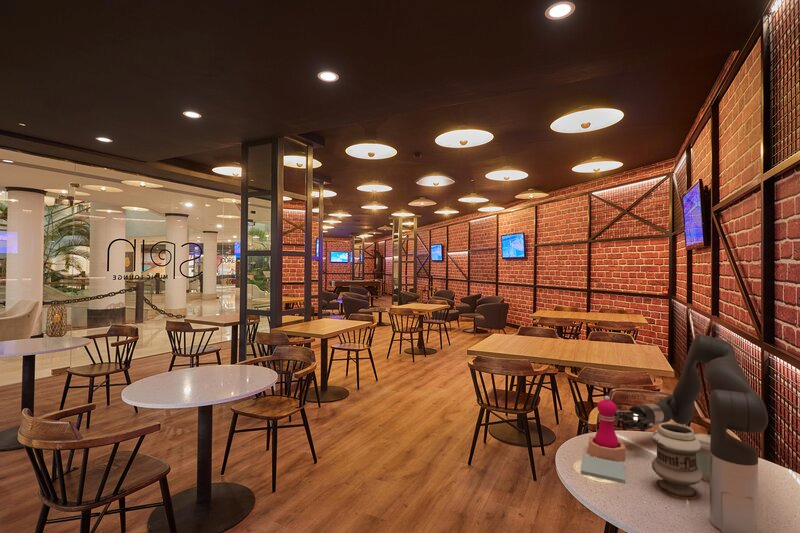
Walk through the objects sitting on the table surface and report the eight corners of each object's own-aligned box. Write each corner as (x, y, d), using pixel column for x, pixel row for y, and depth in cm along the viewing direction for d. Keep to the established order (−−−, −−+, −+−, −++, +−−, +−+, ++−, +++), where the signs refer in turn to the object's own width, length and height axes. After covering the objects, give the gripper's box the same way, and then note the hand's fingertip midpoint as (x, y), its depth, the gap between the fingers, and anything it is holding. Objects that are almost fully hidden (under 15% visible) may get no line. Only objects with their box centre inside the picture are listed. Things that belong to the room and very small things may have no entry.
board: (625, 483, 122) (625, 479, 122) (580, 473, 127) (580, 470, 127) (623, 466, 133) (623, 463, 133) (582, 457, 138) (582, 455, 138)
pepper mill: (589, 451, 143) (590, 394, 143) (604, 448, 146) (605, 391, 146) (608, 460, 136) (608, 400, 136) (623, 456, 139) (623, 397, 139)
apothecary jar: (642, 484, 121) (643, 423, 121) (666, 475, 127) (667, 417, 127) (686, 505, 111) (687, 438, 111) (710, 495, 116) (711, 431, 116)
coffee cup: (732, 486, 121) (733, 445, 121) (700, 483, 123) (700, 442, 123) (716, 472, 129) (717, 434, 129) (686, 469, 131) (686, 431, 131)
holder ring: (625, 464, 134) (625, 452, 134) (587, 457, 139) (588, 445, 139) (624, 451, 144) (624, 439, 144) (589, 444, 149) (589, 433, 149)
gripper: (628, 399, 155) (597, 403, 149) (665, 411, 142) (633, 417, 136) (628, 418, 155) (596, 424, 149) (665, 432, 142) (632, 439, 136)
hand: (614, 421), depth 142 cm, fingers open, 8 cm apart
